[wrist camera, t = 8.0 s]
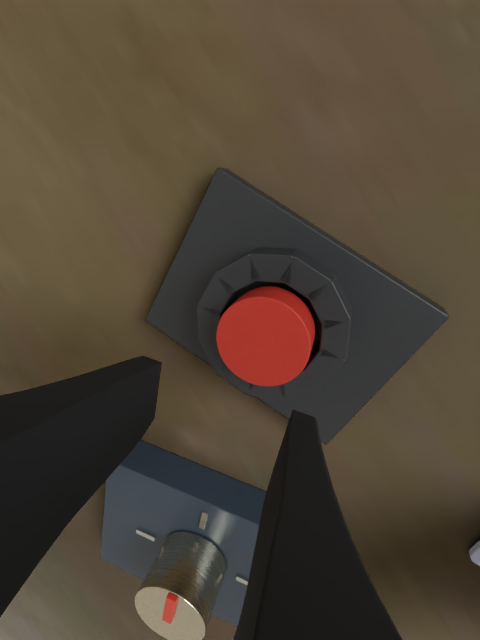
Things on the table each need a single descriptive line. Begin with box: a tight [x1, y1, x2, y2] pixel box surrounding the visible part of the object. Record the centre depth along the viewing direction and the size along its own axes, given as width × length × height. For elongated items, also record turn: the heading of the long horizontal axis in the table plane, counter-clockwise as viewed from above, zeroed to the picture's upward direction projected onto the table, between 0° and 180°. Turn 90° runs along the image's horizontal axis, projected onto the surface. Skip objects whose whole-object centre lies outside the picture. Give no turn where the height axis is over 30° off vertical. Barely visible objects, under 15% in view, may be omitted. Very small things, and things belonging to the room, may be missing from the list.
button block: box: [145, 168, 449, 444], centre depth 17 cm, size 12×9×3 cm
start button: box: [216, 286, 315, 386], centre depth 15 cm, size 4×4×2 cm
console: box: [100, 440, 266, 626], centre depth 24 cm, size 14×10×3 cm
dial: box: [135, 531, 226, 640], centre depth 21 cm, size 4×4×4 cm
